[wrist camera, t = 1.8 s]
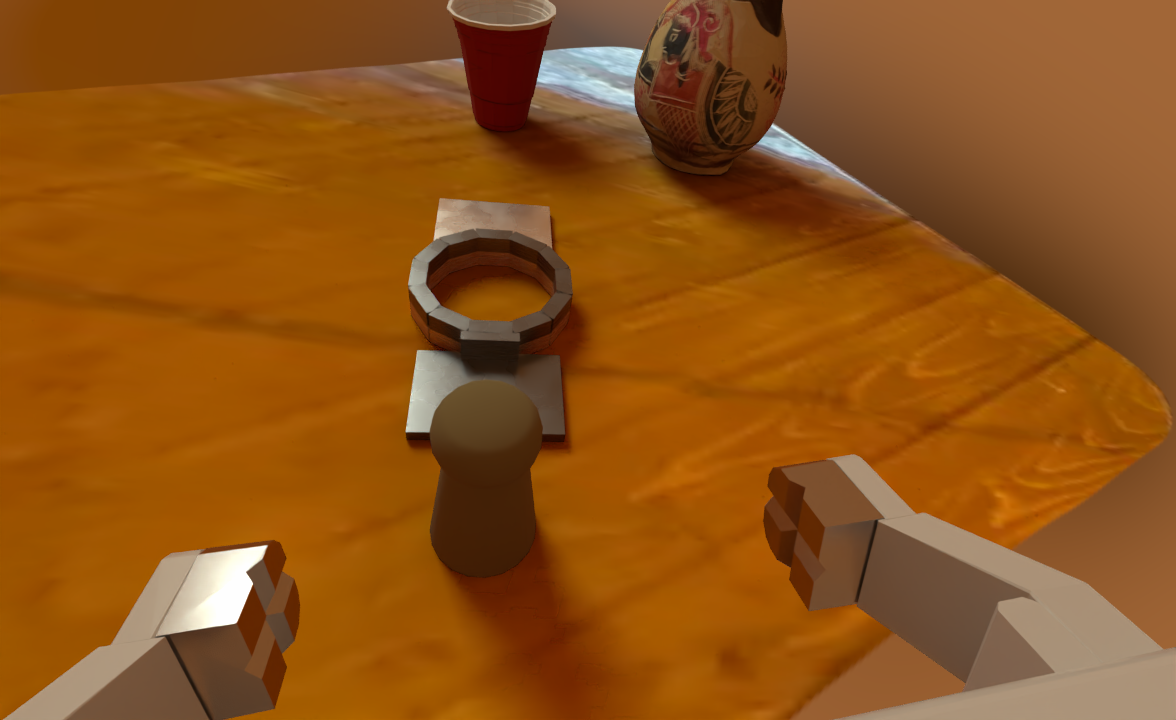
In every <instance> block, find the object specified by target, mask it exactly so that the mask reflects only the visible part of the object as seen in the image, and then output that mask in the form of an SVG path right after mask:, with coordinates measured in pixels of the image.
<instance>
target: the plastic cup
mask: <svg viewBox="0 0 1176 720" xmlns="http://www.w3.org/2000/svg"><path fill="white" fill-rule="evenodd" d="M447 10H448V12H449V14H450V15H451V16H452V18H453V20H454V23H455V27H456V28H457V32H458V37H459V39H460V43H461V49H462V54H463V60H464V66H465V71H466V77H467V83H468V88H469V90H470V95H471V102H472V109H473V113H474V116H475V119H476V121H477V122H478V124H480V125H481V126H483V127H485V128H488V129H491V130H494V131H503V132H505V131H514V130H517V129H520V128H522V127H523V126H524V125H525V121H526V120H527V117H528V112H529V108H530V104H531V99H532V97H533V95H534V90H535V86H536V82H537V77H538V73H539V68H540V64H541V60H542V55H543V51H544V47H545V45H546V40H547V35H548V34H549V28H550V26H551V23H552V20H554V19H555V16H556V7H555V6H554V5H553V4H552V3H550V2H549V1H548V0H450V1H449V3H448V5H447Z"/></svg>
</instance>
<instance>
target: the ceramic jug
mask: <svg viewBox="0 0 1176 720" xmlns="http://www.w3.org/2000/svg"><path fill="white" fill-rule="evenodd" d="M782 2H783V0H671V1H670V3H669V4H668V5H667V6H666V8H665V9H664V11H663V12H662V14H661V15H660V17H659V18H658V20H657V22H656V24H655V26H654V28H653V29H652V31H651V34H650V36H649V38H648V41H647V43H646V45H645V48H644V51H643V53H642V56H641V59H640V62H639V65H638V68H637V73H636V79H635V84H634V95H635V108H636V111H637V114H638V117H639V119H640V121H641V123H642V125H643V126H644V128H645V130H646V132H647V134H648V136H649V138H650V140H651V143H652V151H653V153H654V155H655V157H657V158H658V159H659V160H660V161H661V162H662V163H663V164H665V165H667V166H669V167H671V168H673V169H676V170H679V171H683V172H687V173H692V174H702V175H721V174H723V173H725V172H727V171H728V169H729V168H730V166H731V165H732V164H733V161H734V158H736V157H737V156H739V155H741V154H742V153H744V152H745V151H747V150H749V149H750V148H752V147H753V146H754V145H756V144H757V143H758V142H759V141H760V140H761V138H762V137H763V136H764V135H765V133H766V132H767V131H768V129H769V128H770V127H771V125H772V123H773V121H774V119H775V117H776V115H777V113H778V110H779V107H780V103H781V100H782V95H783V92H784V89H785V80H786V75H787V70H786V68H787V42H786V33H785V27H784V20H783V14H782Z"/></svg>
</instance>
